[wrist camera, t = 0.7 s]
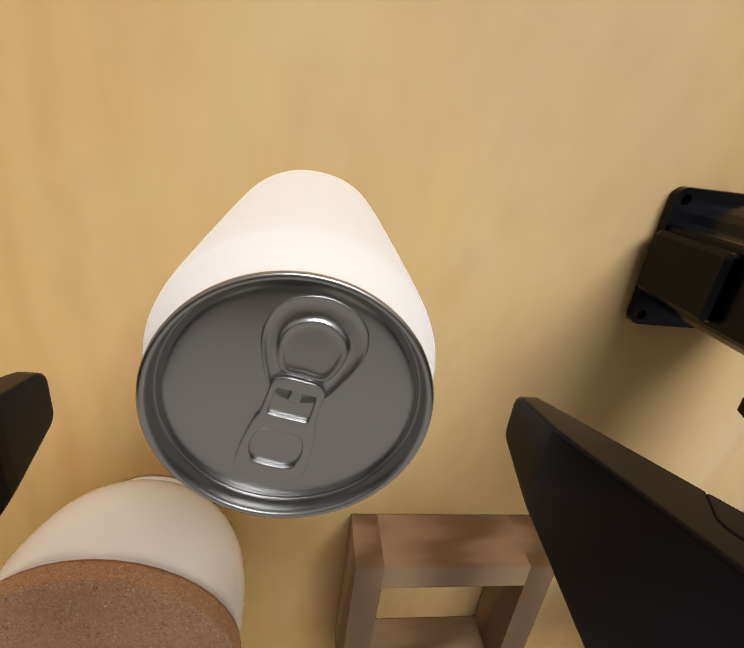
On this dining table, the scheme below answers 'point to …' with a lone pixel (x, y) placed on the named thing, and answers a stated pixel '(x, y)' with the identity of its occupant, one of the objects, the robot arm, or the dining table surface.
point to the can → (288, 355)
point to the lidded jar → (127, 573)
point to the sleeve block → (442, 579)
